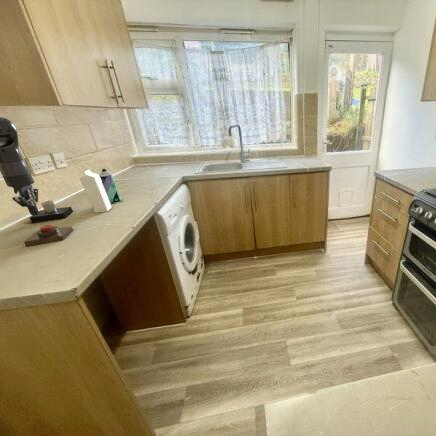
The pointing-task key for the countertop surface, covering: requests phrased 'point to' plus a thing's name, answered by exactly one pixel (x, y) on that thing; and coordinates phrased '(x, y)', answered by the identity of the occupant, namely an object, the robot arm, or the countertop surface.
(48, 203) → the hob knob
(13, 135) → the robot arm
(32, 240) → the igniter
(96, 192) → the milk
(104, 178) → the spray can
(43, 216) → the panel
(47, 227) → the button
